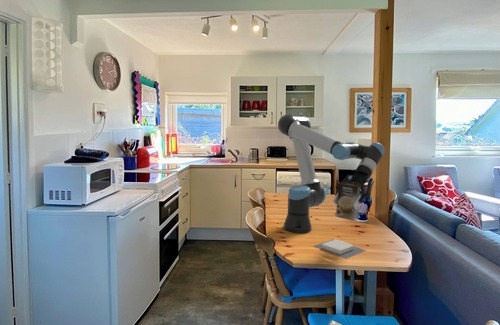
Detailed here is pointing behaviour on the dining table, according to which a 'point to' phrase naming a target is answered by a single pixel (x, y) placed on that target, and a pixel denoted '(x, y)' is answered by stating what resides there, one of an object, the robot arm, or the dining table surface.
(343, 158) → the robot arm
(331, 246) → the tile
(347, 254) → the mat
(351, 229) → the dining table surface
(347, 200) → the coffee box
